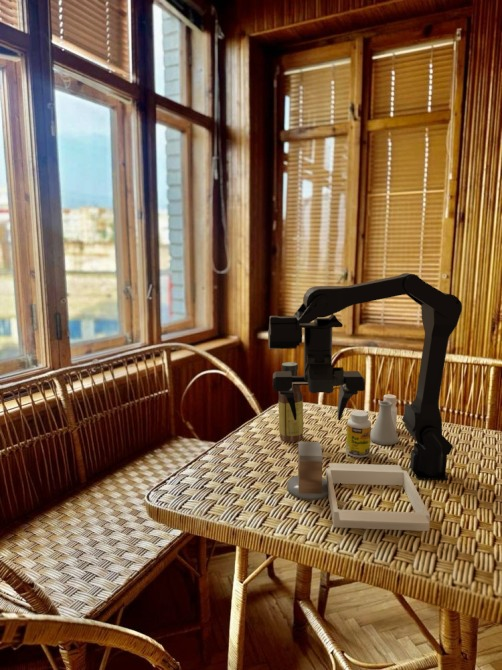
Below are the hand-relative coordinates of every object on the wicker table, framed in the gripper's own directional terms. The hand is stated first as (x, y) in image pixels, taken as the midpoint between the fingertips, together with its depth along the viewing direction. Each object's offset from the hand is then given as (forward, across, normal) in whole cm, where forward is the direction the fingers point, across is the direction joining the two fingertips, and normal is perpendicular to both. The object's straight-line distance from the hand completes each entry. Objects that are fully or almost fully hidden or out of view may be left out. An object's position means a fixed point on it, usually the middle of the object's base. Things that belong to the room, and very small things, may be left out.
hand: (317, 419), depth 101 cm
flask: (+13, +19, +19) cm, 30 cm away
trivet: (+13, -2, -6) cm, 14 cm away
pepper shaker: (+13, +22, +26) cm, 37 cm away
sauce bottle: (+13, -5, +20) cm, 24 cm away
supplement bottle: (+13, +11, +11) cm, 20 cm away
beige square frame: (+13, +10, -11) cm, 20 cm away
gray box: (+12, -2, -6) cm, 13 cm away
